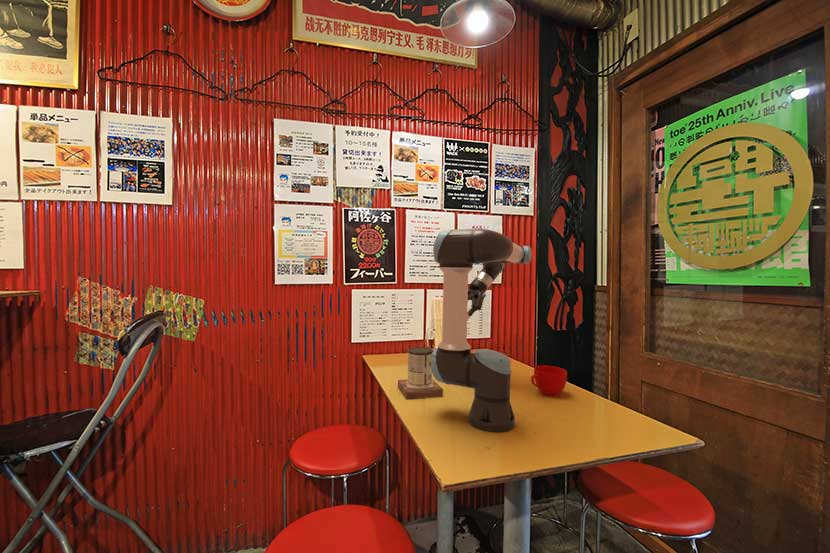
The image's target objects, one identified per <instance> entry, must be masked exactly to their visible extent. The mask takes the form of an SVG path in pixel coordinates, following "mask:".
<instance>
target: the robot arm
mask: <svg viewBox="0 0 830 553" xmlns="http://www.w3.org/2000/svg"><path fill="white" fill-rule="evenodd" d="M432 251H433V252H432V254H433V259H434V261H435V263H436V264H438V266H439V270H440V271H441V272H442V273H443V276H442V277H443V281H442V282H443V285H442V287H443V288H442V327H441V328H442V333H441V334H442V335H441V341H440V342H439V343H438V345H437V348H435V349H434V350H433V352H432V358H431V369H432V377H434V379H435V380H436V381H437V382H439V383H443V384H446V385H449V386H450V385H452V386H457V387H458V386H459V387H463V388H471V389H474V393H473V394H474V398H473V400H472V402H471V405H470V409H469V412H468V423H469V424H470V425H472V426H473V427H475V428H477V429H479V430H482V431H485V432H486V431H487V432H493V433H495V432H496V433H502V432H509V431H511V430H513V429H514V428H515V426H516V424H515V423H516V417H515V414H514V410H513V408H512V403H511V374H512V369H511V364H512V363H511V360H510V358H509V357H508V356H507V355H506V354H504V353H502V352H500V351H497V350H492V349H486V348H485V349H484V348H483V349H482V348H479V349H476V351H475V352H474V353H473V352H472V346H471V344H469V343H468V341H467V340H468V339H467V338H468V335H467V334H468V321H469V319H470V318H471V317H472V316H473V314H474V313H475V312H477V311H479V312H480V311H481V309H482V307H483V304H484V299H485V297H486V296H487V295H486V292H487V291H488V289H489V288H490V286H491V285H492V283H493V282H495V280H496V279H497V277H498V276H499V275H500V274H501V273H502V272H503V269H504V268H505V265H506V264H521V265H524V264H530V263H531V262H532V255H533V253H532V252H533V251H532V248H531V246H530V245H529V246H528V245H518V244H516V243H514V242H513V241H512V239H511V238H510V237H509V236H507V235H506V234H503V233H501V232H498V231H494V230H491V229H486V228H485V229H484V228H471V229H469V228H468V229H467V228H466V229H448V230H447V229H445V230H442V231H441V232H439V233H438V235H437V236H436V238H435V240H434V243H433V249H432ZM474 264H481V265H482V268H481V270H480V271H479V272H478V274H477V275H476V276H475V277H474V279H473V280H472V281H471V282H470V284H469V273H470V272H471V271H472V270H473V268H474V266H473V265H474ZM468 301H471V305H470V307H469V308H468V303H469V302H468Z"/></svg>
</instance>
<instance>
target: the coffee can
mask: <svg viewBox="0 0 830 553" xmlns="http://www.w3.org/2000/svg"><path fill="white" fill-rule="evenodd" d="M407 352H408V353H407V379H408V384H409V385H410V386H414V387H427V386H430V385H431V384H432V379H433V373H432V369H431V358H432V354H433V352H434V350H433V349H432V348H430V347H425V346H416V347H415V346H414V347H410V348H408V349H407Z"/></svg>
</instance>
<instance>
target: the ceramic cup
mask: <svg viewBox="0 0 830 553" xmlns="http://www.w3.org/2000/svg"><path fill="white" fill-rule="evenodd" d="M567 379H568V371H567V369H564V368H562V367H558V366H553V365H537V366H536V365H535V367H534V368H533V374H532V375H531V377H530V381H531V383H532V385H533V386H534V387H536V388H537V389H538V390H539V391H540V392H542V393H543V395H544V394H545V396H548V397H557V396H559V395H560V394H561V393H562V392H563V391H564V389H565V387H566V384H567ZM542 393H541V394H542Z"/></svg>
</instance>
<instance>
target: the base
mask: <svg viewBox="0 0 830 553" xmlns="http://www.w3.org/2000/svg"><path fill="white" fill-rule="evenodd" d="M397 388H398V390H399V391H400V392H401V394H402V395H403V397H404V398H405V399H406V400H415V399H417V400H418V399H425V398H426V399H428V398H429V399H430V398H439V397H440V398H441V397H443V396H444V388H443V387H441V386H440V385H439V384H438V383H437V382H436V381H435V380H434V379H433V378H432V384H431V385H430V386H427V387H414V386H410V385H409V384H408V378H407V379H398V380H397Z"/></svg>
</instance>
